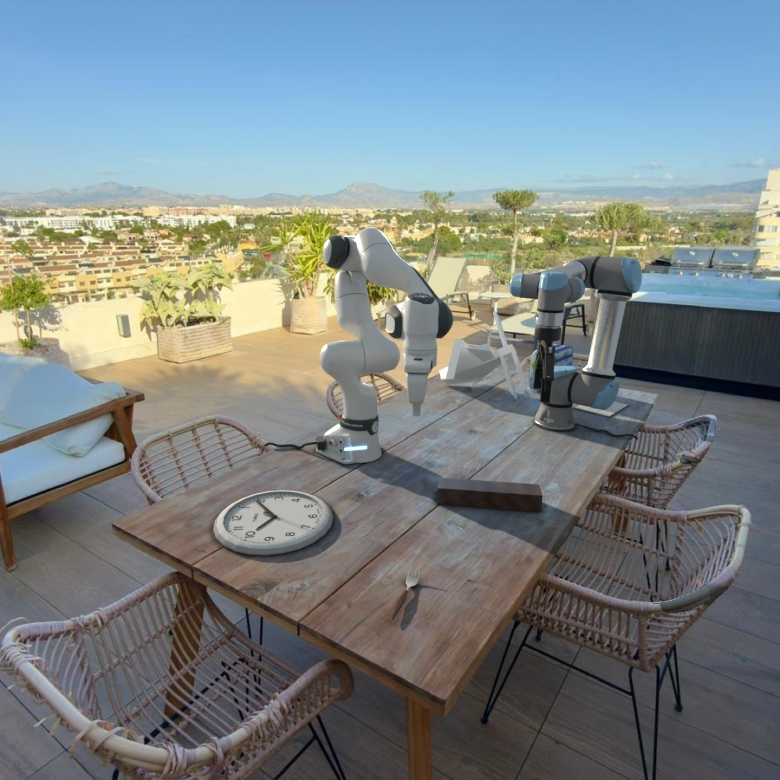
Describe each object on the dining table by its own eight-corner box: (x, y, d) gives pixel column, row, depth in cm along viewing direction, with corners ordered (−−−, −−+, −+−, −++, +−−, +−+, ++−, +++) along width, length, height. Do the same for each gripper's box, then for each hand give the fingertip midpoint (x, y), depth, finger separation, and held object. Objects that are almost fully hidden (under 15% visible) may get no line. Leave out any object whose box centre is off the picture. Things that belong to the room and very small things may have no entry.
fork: (385, 619, 101) (385, 611, 101) (410, 571, 116) (411, 563, 115) (398, 623, 100) (398, 614, 100) (422, 574, 115) (422, 566, 114)
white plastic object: (461, 429, 252) (437, 405, 227) (444, 352, 274) (420, 323, 250) (535, 404, 240) (518, 377, 215) (510, 326, 262) (492, 293, 237)
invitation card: (608, 416, 214) (573, 407, 224) (608, 416, 214) (573, 408, 224) (628, 404, 229) (594, 396, 238) (628, 405, 229) (594, 397, 238)
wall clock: (331, 546, 121) (198, 551, 119) (331, 552, 122) (199, 557, 119) (333, 485, 150) (227, 488, 147) (334, 490, 150) (227, 493, 148)
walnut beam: (537, 500, 147) (539, 484, 146) (540, 512, 141) (542, 495, 140) (437, 492, 150) (438, 477, 149) (436, 504, 144) (437, 488, 143)
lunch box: (545, 396, 239) (550, 351, 232) (524, 391, 246) (528, 347, 240) (572, 385, 256) (577, 343, 250) (552, 380, 263) (557, 339, 257)
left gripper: (410, 348, 144) (409, 396, 148) (403, 367, 125) (402, 421, 129) (433, 349, 143) (431, 397, 148) (430, 368, 124) (427, 423, 128)
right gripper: (529, 318, 165) (523, 382, 172) (542, 333, 142) (534, 407, 148) (554, 319, 165) (546, 383, 171) (570, 334, 141) (561, 409, 147)
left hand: (417, 409), depth 138 cm, fingers open, 8 cm apart
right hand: (541, 395), depth 159 cm, fingers open, 13 cm apart
